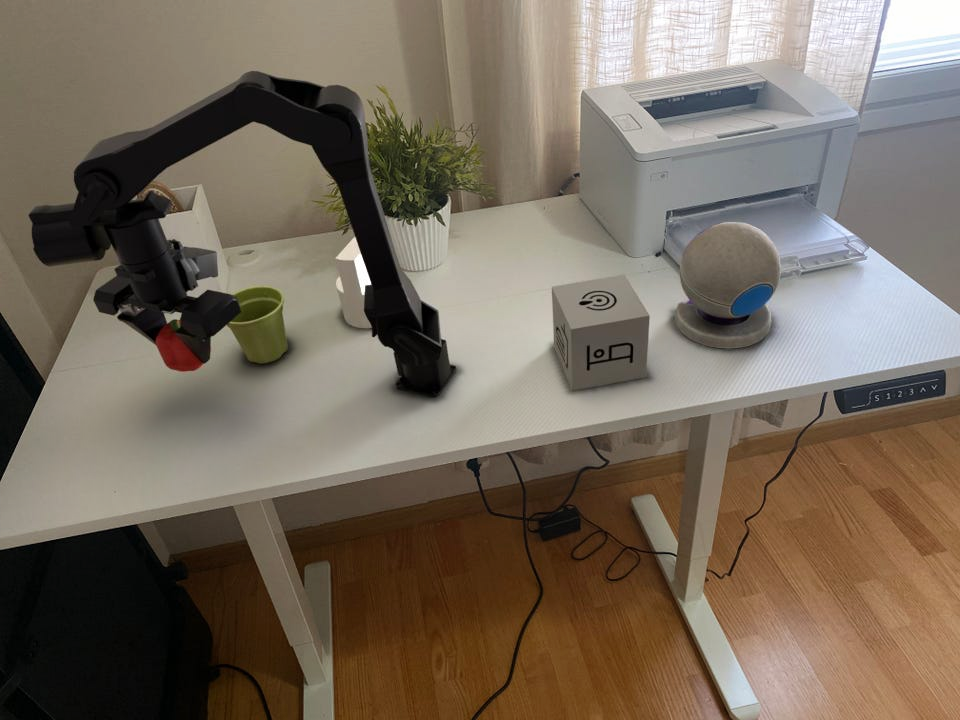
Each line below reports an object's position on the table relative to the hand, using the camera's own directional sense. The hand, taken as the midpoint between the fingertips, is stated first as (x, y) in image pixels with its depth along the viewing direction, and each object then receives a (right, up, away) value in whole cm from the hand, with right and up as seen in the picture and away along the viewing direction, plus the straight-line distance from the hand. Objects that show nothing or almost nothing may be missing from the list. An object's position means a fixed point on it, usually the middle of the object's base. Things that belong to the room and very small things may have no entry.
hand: (189, 357), depth 95 cm
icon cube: (+54, -1, +6) cm, 54 cm away
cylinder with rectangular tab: (+21, +7, +20) cm, 30 cm away
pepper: (0, -1, +1) cm, 1 cm away
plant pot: (+6, +1, +15) cm, 16 cm away
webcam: (+72, +5, +10) cm, 73 cm away
